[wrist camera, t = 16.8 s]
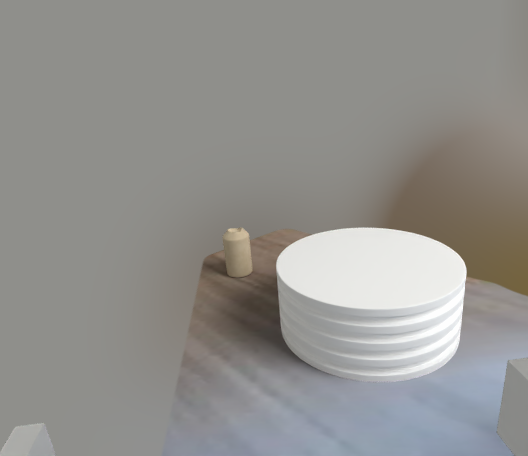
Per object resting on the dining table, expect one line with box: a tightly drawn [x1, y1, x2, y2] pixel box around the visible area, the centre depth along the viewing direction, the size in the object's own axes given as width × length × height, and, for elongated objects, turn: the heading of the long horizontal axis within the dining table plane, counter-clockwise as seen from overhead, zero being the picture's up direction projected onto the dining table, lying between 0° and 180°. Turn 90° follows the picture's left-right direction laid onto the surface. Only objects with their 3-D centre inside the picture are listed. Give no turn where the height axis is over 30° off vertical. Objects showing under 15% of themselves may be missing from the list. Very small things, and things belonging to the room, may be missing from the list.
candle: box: [223, 228, 252, 278], centre depth 87 cm, size 6×6×10 cm
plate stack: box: [276, 228, 466, 382], centre depth 66 cm, size 28×28×12 cm
